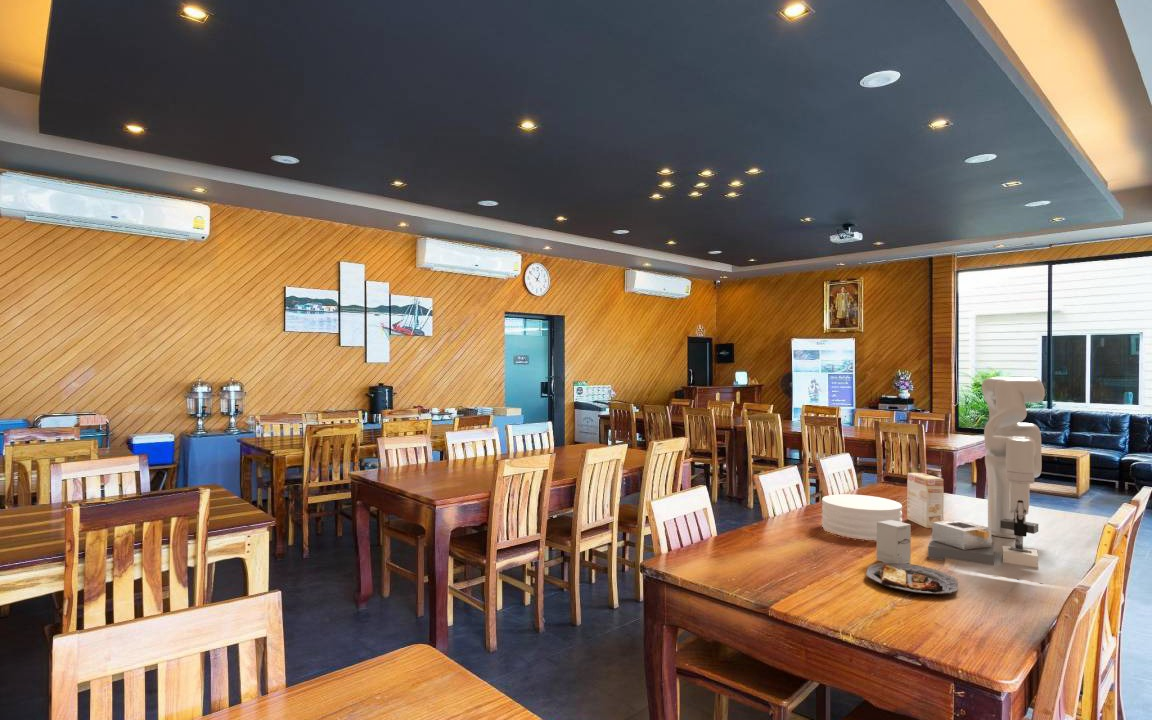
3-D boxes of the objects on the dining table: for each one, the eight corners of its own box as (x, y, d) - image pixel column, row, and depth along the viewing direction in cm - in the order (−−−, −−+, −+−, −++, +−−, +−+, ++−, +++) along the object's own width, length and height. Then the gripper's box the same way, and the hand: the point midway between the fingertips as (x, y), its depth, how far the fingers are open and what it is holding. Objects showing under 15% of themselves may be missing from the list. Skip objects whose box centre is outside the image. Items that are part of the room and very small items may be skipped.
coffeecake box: (944, 528, 245) (944, 478, 245) (926, 528, 245) (926, 478, 245) (923, 519, 260) (923, 472, 260) (906, 519, 260) (906, 472, 260)
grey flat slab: (932, 545, 221) (932, 534, 221) (993, 554, 211) (993, 542, 211) (928, 558, 206) (928, 545, 206) (993, 568, 196) (993, 555, 196)
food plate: (957, 606, 165) (957, 593, 165) (861, 589, 177) (861, 577, 177) (958, 579, 186) (958, 567, 186) (872, 566, 198) (872, 555, 198)
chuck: (932, 539, 212) (932, 522, 212) (958, 537, 216) (958, 519, 216) (972, 552, 198) (972, 533, 198) (1000, 549, 202) (1000, 530, 202)
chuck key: (1005, 552, 205) (1005, 518, 205) (1038, 559, 198) (1038, 523, 198) (1000, 555, 202) (1000, 520, 202) (1033, 562, 195) (1033, 526, 195)
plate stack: (905, 529, 244) (905, 499, 244) (897, 546, 221) (898, 513, 221) (829, 519, 259) (829, 491, 259) (815, 534, 236) (815, 503, 236)
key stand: (1002, 559, 206) (1002, 545, 206) (1036, 564, 201) (1036, 550, 201) (1003, 565, 199) (1003, 551, 199) (1038, 570, 194) (1038, 556, 194)
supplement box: (896, 566, 197) (896, 526, 197) (875, 560, 204) (875, 521, 204) (911, 563, 200) (911, 524, 200) (890, 557, 207) (890, 519, 207)
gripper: (1005, 472, 209) (1005, 526, 209) (1006, 479, 195) (1006, 537, 195) (1032, 474, 205) (1032, 529, 205) (1035, 482, 191) (1035, 541, 191)
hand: (1019, 532), depth 200 cm, fingers closed on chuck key, 5 cm apart
